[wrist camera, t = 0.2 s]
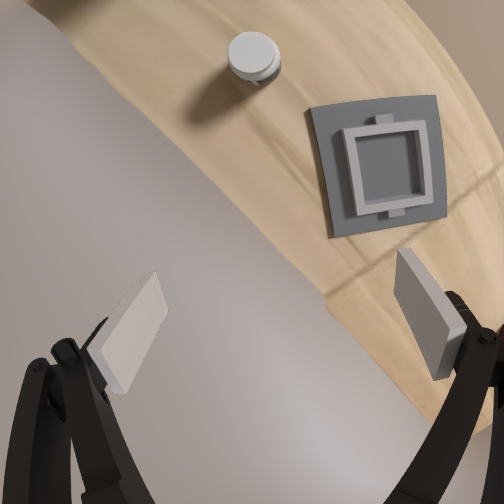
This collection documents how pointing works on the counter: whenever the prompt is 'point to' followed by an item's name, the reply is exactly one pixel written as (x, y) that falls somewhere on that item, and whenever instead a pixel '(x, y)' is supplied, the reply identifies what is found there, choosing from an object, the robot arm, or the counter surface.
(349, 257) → the counter surface
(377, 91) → the counter surface
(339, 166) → the socket
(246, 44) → the pill bottle
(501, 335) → the vegetable
